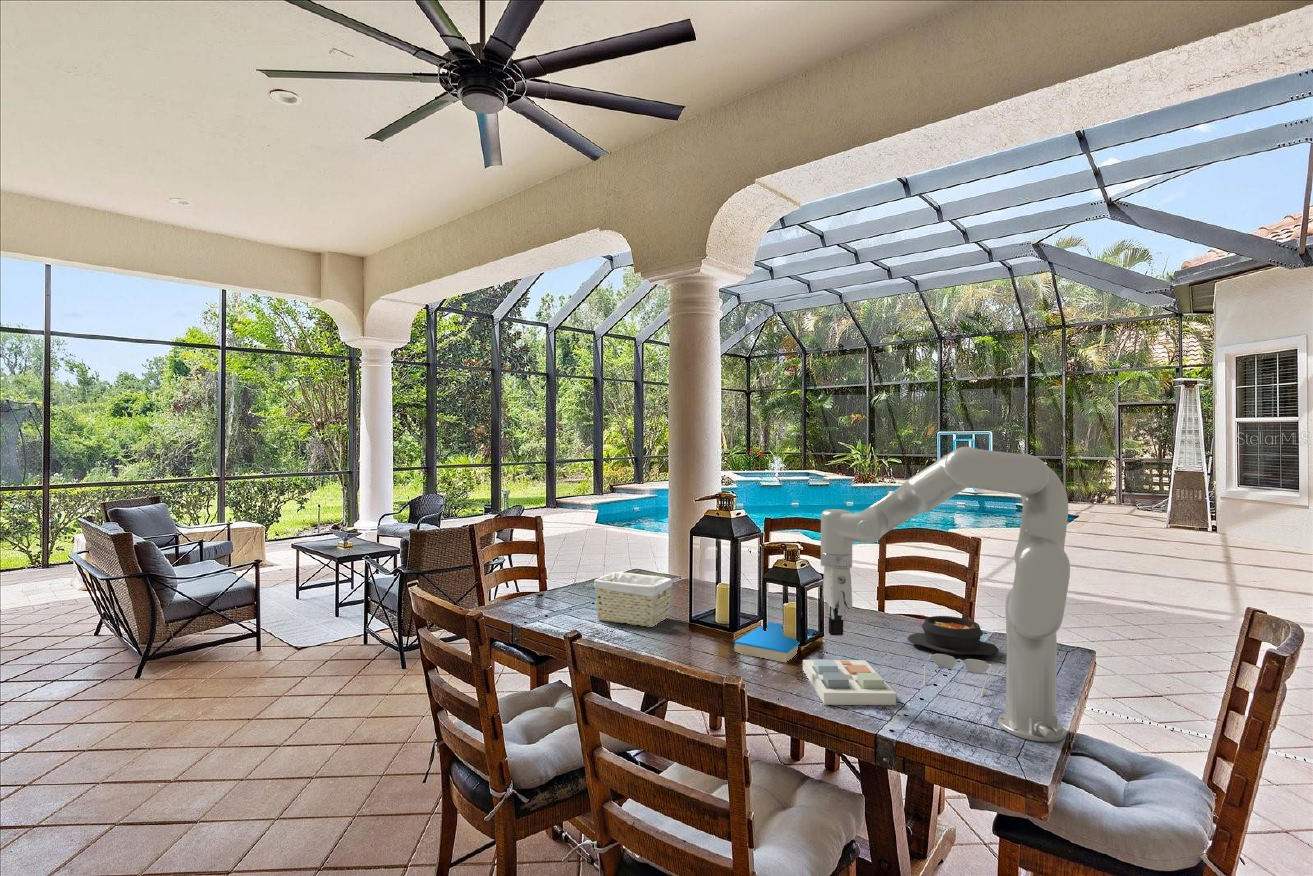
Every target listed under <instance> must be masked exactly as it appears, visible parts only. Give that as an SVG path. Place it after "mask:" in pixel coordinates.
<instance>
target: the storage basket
mask: <svg viewBox="0 0 1313 876" xmlns="http://www.w3.org/2000/svg"><path fill="white" fill-rule="evenodd" d="M593 587H594V589H595V591H594V593H595V600H596V601H595V602H596V612H597V620H599V621H604V622H610V623H611V622H612V623H617V624H619V623H620V624H623V623H627V624H632V625H635V626H636V625H640V626H639V627H643V626H647V627H646V628H650V627H653V626H655V624H656V623H659V622H660V621H661V620H663V618H666V617H667V616H669V614H670V607H671V606H670V602H671V588H672V587H673V580H672V578H669V577H664V576H657V575H650V574H648V575H647V574H641V573H633V572H623V571H622V572H619V571H618V572H617V571H614V572H612V573H608V574H606V575H603V576H601V577H599V578H595V579H594V583H593ZM669 617H670V616H669ZM627 624H626V625H627ZM632 625H631V626H632ZM655 627H656V626H655ZM653 628H654V627H653Z"/></svg>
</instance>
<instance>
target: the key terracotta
mask: <svg viewBox="0 0 1313 876" xmlns="http://www.w3.org/2000/svg"><path fill="white" fill-rule="evenodd" d="M846 670H847V671H848V672H849V674H850V675H857V673H871V671H870V670H869V669H868V668H867V667H866V665H846Z"/></svg>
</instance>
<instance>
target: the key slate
mask: <svg viewBox="0 0 1313 876" xmlns="http://www.w3.org/2000/svg"><path fill="white" fill-rule="evenodd" d="M823 683H824V685H825V686H826V688H827V689H849V679H848V678H847V677H846V676H845V674H844V673H843V672H823Z"/></svg>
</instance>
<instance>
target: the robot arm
mask: <svg viewBox="0 0 1313 876" xmlns="http://www.w3.org/2000/svg"><path fill="white" fill-rule="evenodd" d="M967 488H973V489H979V490H986V491H991V492H1000V493H1006V494H1013V495H1020V498H1021V501H1022V511H1021V522H1020V527H1019V528H1020V529H1019V533H1018V539H1017V544H1016V548H1015V551H1014V563H1015V569H1014V570H1015V571H1014V579H1013V585H1012V587H1011V588H1010V590H1009V591H1008V593H1007V595H1006V598H1005V608H1004V609H1005V610H1004V611H1005V631H1006V633H1005V637H1006V639H1005V640H1006V647H1005V648H1006V649H1005V650H1006V651H1005V652H1006V653H1005V656H1006V657H1005V666H1006V667H1005V668H1006V669H1005V670H1006V671H1005V673H1006V674H1005V677H1006V678H1005V688H1006V689H1005V696H1006V697H1005V701H1006V702H1005V706H1006V707H1005V712H1004V713H1002V714H1000V715H999V716H998V719H997V720H998V722H997V723H998V726H999V727H1000V728H1001V730H1004V731H1005V732H1007V733H1009V734H1011V735H1013V736H1016V737H1019V738H1021V739H1025V740H1029V741H1033V742H1034V741H1035V742H1040V743H1041V742H1042V743H1053V742H1054V743H1055V742H1059V741H1062V740H1065V739H1064V738H1065V737H1066V730H1065V728H1064V727H1063V726H1062V725H1061V723H1058V721H1059V719H1058V717H1057V714H1058V712H1057V709H1058V707H1057V706H1058V705H1057V697H1058V695H1057V685H1058V684H1057V683H1058V682H1057V676H1058V675H1057V671H1058V670H1057V669H1058V668H1057V665H1058V663H1057V662H1058V651H1057V650H1058V645H1057V644H1058V641H1057V640H1058V639H1057V632H1058V631H1059V630H1060V628H1061V626H1062V623H1063V618H1064V614H1065V609H1066V601H1067V596H1068V591H1069V590H1068V589H1069V585H1070V577H1071V562H1070V559H1069V557H1068V555H1067V553H1066V552H1065V543H1066V536H1067V527H1068V526H1067V525H1068V517H1069V499H1068V494H1067V490H1066V489H1065V486H1064V484H1063V482H1062V481H1061V479H1060V478H1059V476H1058V475H1057V473H1056V472H1055V471H1054V470H1053V469H1052V468H1051V467H1050V466H1049V465H1047V464H1046V463H1045V462H1044V461H1043V460H1042V459H1041V458H1039V457H1037V456H1035V455H1032V454H1029V453H1016V452H1015V453H1014V452H1007V451H1006V452H1004V451H995V450H988V449H987V450H986V449H981V448H977V447H970V446H961V447H958V448H956V449H953V450H952V451H951V452H949V453H947V454H946V455H944V456H943V457H941V458H939V459H938V460H936V461H935V462H934V463H932V464H930V465H929V466H927V467H925V468H924V469H922V470H921V471H919V472H918V473H916V474H915V475H913V476H911V477H910V478H908V479H906V480H905V481H904V482H903V483H902V484H901V485H900V486H898V488H897V489H895V490H894V491H892V492H890V493H889V494H888V495H886V496H884V497H883V498H882V499H880V500H879V501H876V502H875V503H873V504H872V505H870V506H869V507H867V508H865V509H863V510H862V511H860V512H850V510H846V509H839V508H838V509H836V508H831V509H829V508H828V509H825V510H823V511H822V512H821V515H820V566H821V567H823V582H822V583H823V585H822V587H823V588H822V590H823V600H824V601H825V603H826V604H827V605H828V634H829V635H830V636H838V637H839V636H844V616H845V607H846V609H847V610H851V609H853V589H852V588H853V587H852V576H851V568H853V542H856V543H861V544H873V543H876V542H878V541H879V540H880V539H881V538H883V536H884V535H885V534H887V533H888V532H890V531H892V530H893V529H895V528H896V527H898V526H899V525H902V524H904V523H905V522H906V521H908V520H910V519H912V518H913V517H916V516H918V515H920V514H921V515H922V514H924V513H928V512H930V511H931V510H933V509H935V508H936V507H938V506H939V505H941V504H942V503H944V502H946V501H948V500H949V499H951V498H952V497H954V496H956V495H957V494H959V493H961V492H962V491H964V490H966V489H967Z"/></svg>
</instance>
